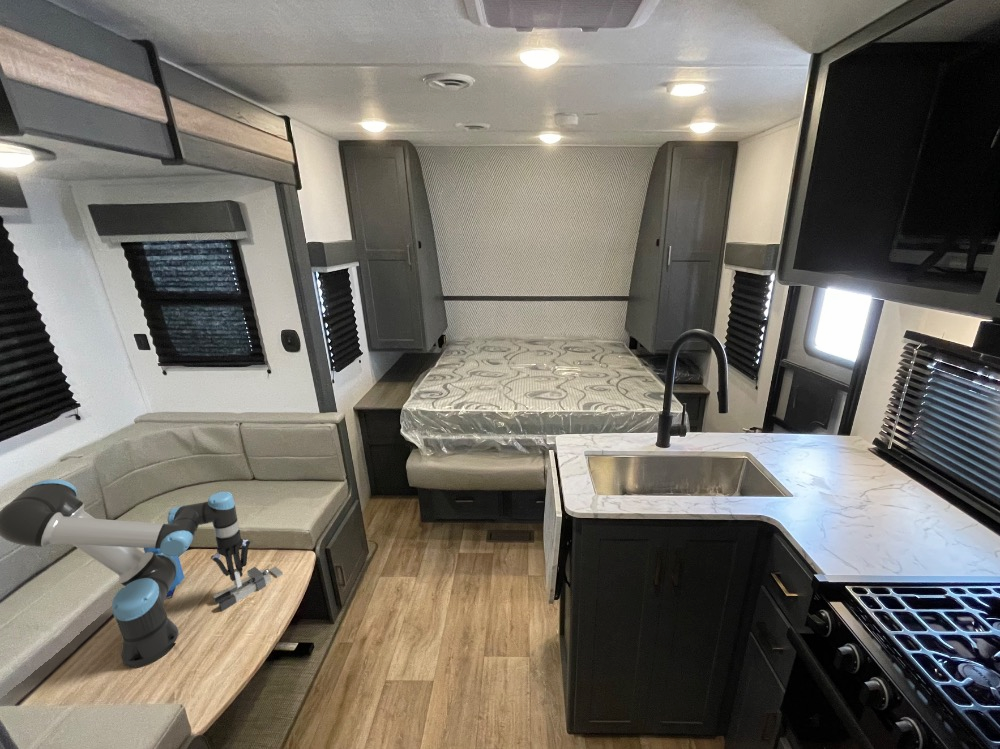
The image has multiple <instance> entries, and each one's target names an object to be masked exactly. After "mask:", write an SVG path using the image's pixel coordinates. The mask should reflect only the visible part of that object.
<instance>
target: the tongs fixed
mask: <svg viewBox="0 0 1000 749" xmlns="http://www.w3.org/2000/svg"><path fill="white" fill-rule="evenodd" d="M270 573H271V574H272V575H273V576H274V577H275V578H276V579H277V578H279V577H281V576H283V575H284V573H283V571H282V570H281V569H280V568H278V567H277V566H273V567H271V568H270V569H269V574H270ZM269 574H268V573H267V574H266V575H264V578H265V583H266V585H268V584H269V583H271V582H272V578H271V574H270V575H269ZM256 591H258V589H257V585H256V582H255V581H254V582H252V583H251V584H249V585H247V586H245V587H244V588H242V589H240V590H239V591H237V592H235V593H234V594H232V595H230V596H228V597H227V598H225V599H223V600H222V601H220V602H218V604H217V605H218V607H219V610H220V611H221V612H224V611H225V610H228V609H229V608H230V607H232V606H234V605H235V604H237V603H238V602H239V601H241V600H243V599H245V598H246V597H249V595H251V594H253V593H255V592H256Z"/></svg>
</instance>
